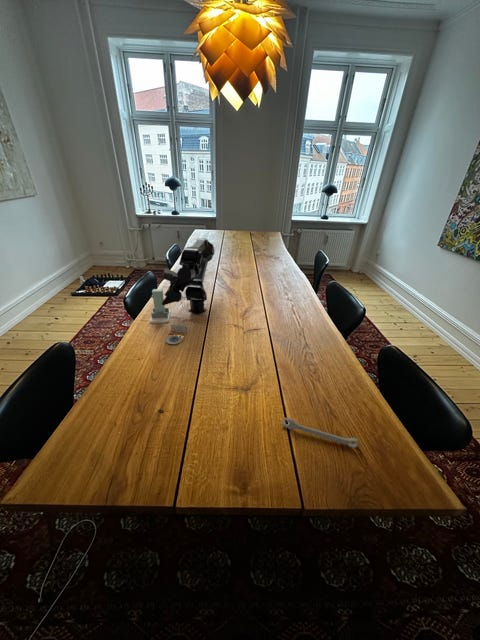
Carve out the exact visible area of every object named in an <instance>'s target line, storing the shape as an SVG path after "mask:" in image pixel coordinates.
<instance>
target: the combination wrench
mask: <svg viewBox="0 0 480 640" xmlns="http://www.w3.org/2000/svg"><path fill="white" fill-rule="evenodd" d="M283 420H284V421H286V422H288V424H287V423H285V422H281V421H280V425H281V426H282V427H283V428H284V427H286V428H285V429H287V428H288V430H300V431H303V432H306V433H309V434H312V435H315V436H318V437H321V438H325V439H328V440H330V441H334V442H338V443H341V444H343V445H346V446H347V447H349V448H353V449H355V448H357V447H359V444H360V443H359V440H358V439H357V438H355V437H341V436H338V435H335V434H332V433H328V432H325V431H322V430H318V429H315V428H311V427H308V426H305V425H301V424H299V423H297V422H296V421H295V420H294V419H293V418H290V417H283ZM350 442H355V443H353V444H352V443H350Z"/></svg>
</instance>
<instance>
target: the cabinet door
mask: <svg viewBox="0 0 480 640" xmlns="http://www.w3.org/2000/svg"><path fill="white" fill-rule="evenodd" d="M163 290H164V289H163V288H153V289H152V291H151V293H152V295H150V298H151V299H152V301H153V308H155V312H165V308H166V305H162V302H163V301H164V299H165V298H164V293H163V292H164V291H163Z"/></svg>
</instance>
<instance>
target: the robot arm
mask: <svg viewBox="0 0 480 640" xmlns="http://www.w3.org/2000/svg"><path fill="white" fill-rule="evenodd" d="M215 252H216V251H215V247H214V244H212V243H211V242H210V241H209V239H207V238H200V237H199V238H197V239H196V241H195V242H194V243H193V244H192V246H187V247H185V248H184V249H183V250H182V251H181V255H180V259H179V266H181V268H179V269H178V270H177V272H175V271H173V270H171V269H168V268H165V269H164V270H163V273H162V276H161V279H162V280H166V281H168V282H169V286H168V289H167V290H166V291H165V293H164V296H165V298H164V301H163V302H162V305H164V306H166V305H169V304H172V303H179V302H180V301H181V300H182V297H183V295H182V293H183V292H184V294H185V297H186V301H189V306H190V308H188V309H187V310H188V312H191V313H193V314H194V315H197V316H198V315H199V314H201V313H204V312H206V311H207V308H205V301H207V300H208V297H207V291H206V290H205V287H204V284H203V283H204V280H205V275H206V272H207V267H208V263H209V262H210V261H212V260H213V257H214V256H215Z"/></svg>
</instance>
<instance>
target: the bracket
mask: <svg viewBox="0 0 480 640" xmlns="http://www.w3.org/2000/svg"><path fill="white" fill-rule="evenodd" d="M170 327H171V328H170V329H171V332H175V331H176V332H177V333H188V332H187V325H180V324H170ZM184 339H185V336H184V337H183V338H181V336H179V337H178V336H177V335H175V336H174V335H171V336H170V335H169V334H168V336H167V337H166V339H165V343H166V344H170V345H177V344H181V343H182V342H183V340H184Z"/></svg>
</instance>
